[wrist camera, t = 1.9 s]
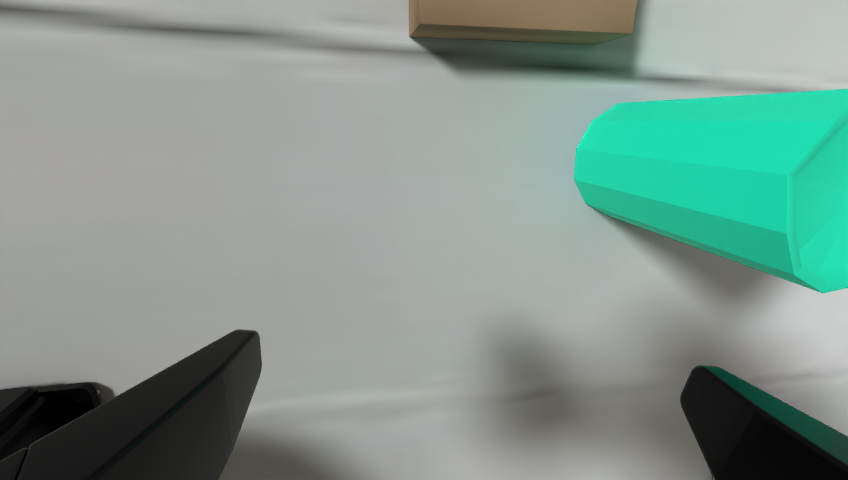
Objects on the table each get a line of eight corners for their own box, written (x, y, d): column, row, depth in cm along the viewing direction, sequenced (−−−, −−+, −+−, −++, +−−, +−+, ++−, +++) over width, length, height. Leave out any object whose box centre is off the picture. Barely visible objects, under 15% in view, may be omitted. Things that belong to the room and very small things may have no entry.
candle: (691, 115, 21) (1105, 109, 9) (651, 224, 22) (967, 330, 11) (594, 87, 19) (947, 41, 8) (558, 205, 21) (813, 306, 10)
